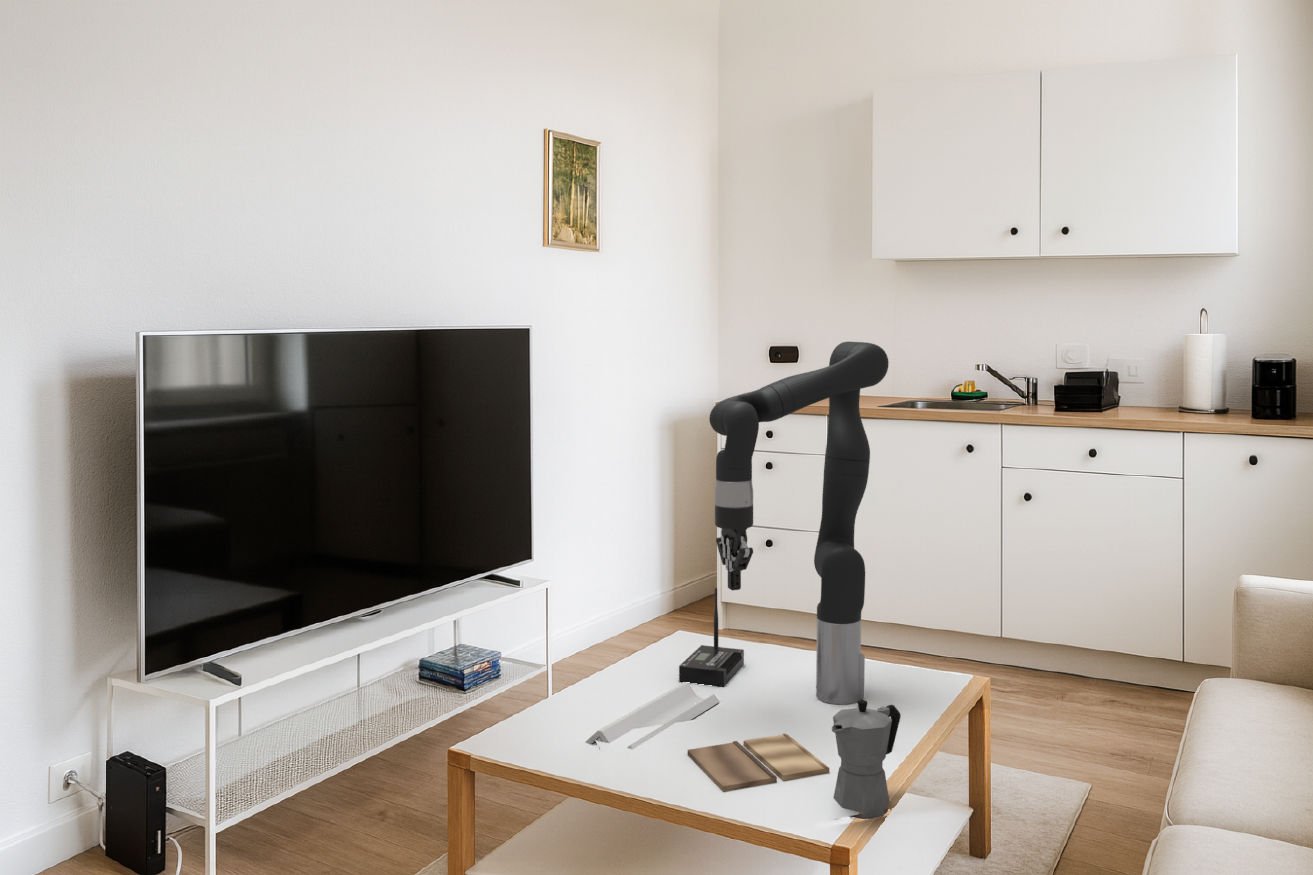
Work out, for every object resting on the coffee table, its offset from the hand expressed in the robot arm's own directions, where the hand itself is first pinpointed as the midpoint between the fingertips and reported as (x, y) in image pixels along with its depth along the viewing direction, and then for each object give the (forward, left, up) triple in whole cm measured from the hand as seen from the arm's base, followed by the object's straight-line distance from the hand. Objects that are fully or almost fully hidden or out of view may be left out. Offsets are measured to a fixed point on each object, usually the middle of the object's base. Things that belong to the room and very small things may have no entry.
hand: (734, 589), depth 200 cm
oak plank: (0, +22, -27) cm, 35 cm away
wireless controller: (-8, -29, -28) cm, 41 cm away
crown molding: (+15, -6, -28) cm, 32 cm away
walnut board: (+11, +22, -27) cm, 36 cm away
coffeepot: (-5, +41, -27) cm, 49 cm away
